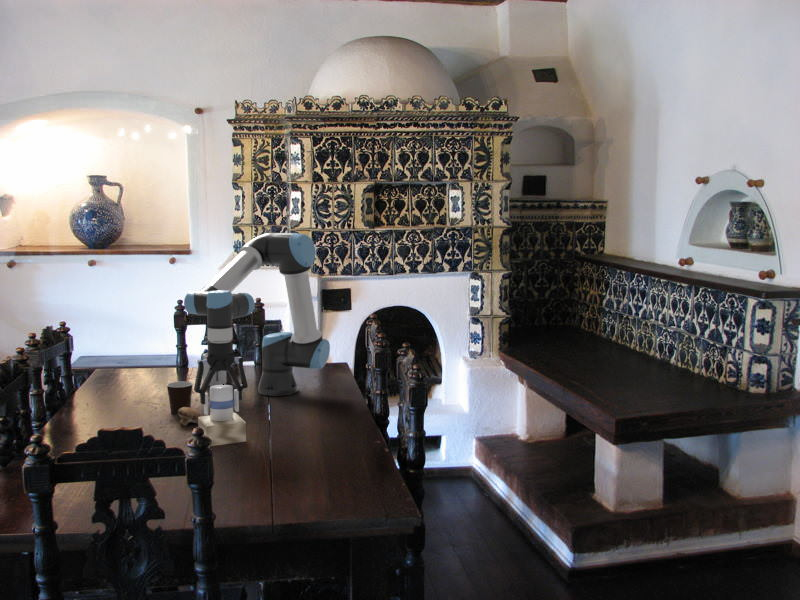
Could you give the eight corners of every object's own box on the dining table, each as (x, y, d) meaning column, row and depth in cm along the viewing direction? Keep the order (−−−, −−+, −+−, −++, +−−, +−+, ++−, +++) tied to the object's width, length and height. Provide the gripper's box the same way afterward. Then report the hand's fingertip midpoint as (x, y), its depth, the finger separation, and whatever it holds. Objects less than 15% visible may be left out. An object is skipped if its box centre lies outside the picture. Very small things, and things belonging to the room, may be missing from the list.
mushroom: (175, 419, 243) (183, 402, 246) (170, 422, 250) (179, 405, 253) (197, 429, 245) (205, 412, 248) (193, 432, 252) (200, 415, 255)
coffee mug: (186, 416, 259) (185, 387, 257) (163, 414, 260) (162, 386, 259) (201, 407, 270) (200, 380, 269) (179, 406, 272) (178, 378, 270)
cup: (216, 379, 313) (215, 351, 312) (231, 382, 308) (230, 354, 306) (198, 383, 306) (198, 354, 304) (213, 386, 301) (213, 357, 299)
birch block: (236, 430, 243) (235, 412, 242) (246, 441, 232) (245, 421, 231) (198, 435, 237) (198, 416, 236) (206, 446, 227) (206, 426, 226)
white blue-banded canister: (230, 414, 239) (229, 383, 238) (236, 420, 232) (235, 388, 231) (207, 417, 235) (207, 385, 235) (212, 422, 229) (212, 390, 228)
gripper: (251, 336, 239) (252, 405, 242) (181, 341, 229) (183, 413, 232) (257, 340, 232) (258, 411, 235) (186, 345, 223) (188, 419, 225)
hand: (221, 412), depth 234 cm, fingers open, 9 cm apart
